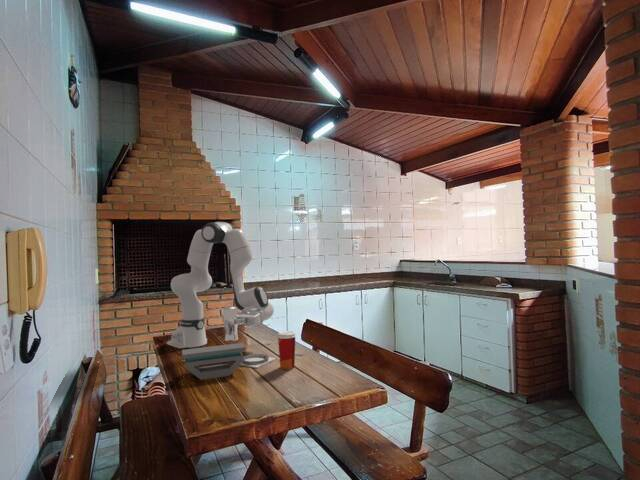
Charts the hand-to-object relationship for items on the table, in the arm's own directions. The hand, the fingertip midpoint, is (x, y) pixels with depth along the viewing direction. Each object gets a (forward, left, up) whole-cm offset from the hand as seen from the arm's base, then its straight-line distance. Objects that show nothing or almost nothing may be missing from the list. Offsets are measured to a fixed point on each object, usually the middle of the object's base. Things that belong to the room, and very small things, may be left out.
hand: (229, 321), depth 178 cm
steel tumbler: (0, +1, -9) cm, 9 cm away
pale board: (+12, +3, -18) cm, 22 cm away
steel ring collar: (+12, +3, -18) cm, 22 cm away
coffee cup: (+30, +3, -18) cm, 35 cm away
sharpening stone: (+8, -18, -18) cm, 27 cm away
